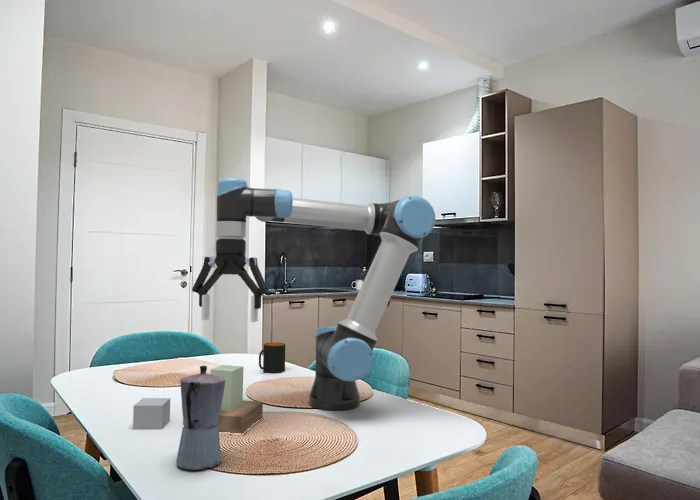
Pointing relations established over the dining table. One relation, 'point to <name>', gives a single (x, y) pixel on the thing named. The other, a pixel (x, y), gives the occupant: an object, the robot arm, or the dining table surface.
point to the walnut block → (240, 417)
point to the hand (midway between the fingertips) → (229, 320)
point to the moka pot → (200, 420)
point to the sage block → (231, 386)
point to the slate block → (151, 413)
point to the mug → (273, 358)
